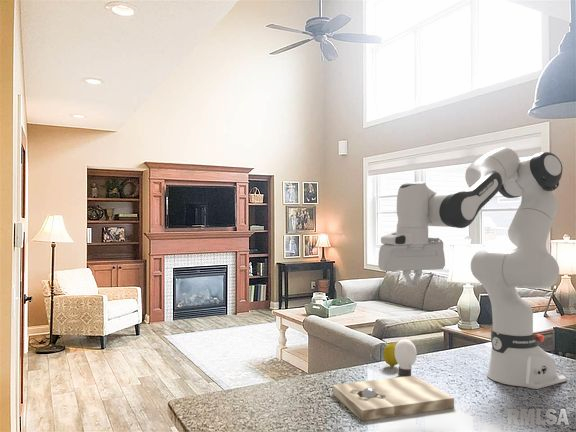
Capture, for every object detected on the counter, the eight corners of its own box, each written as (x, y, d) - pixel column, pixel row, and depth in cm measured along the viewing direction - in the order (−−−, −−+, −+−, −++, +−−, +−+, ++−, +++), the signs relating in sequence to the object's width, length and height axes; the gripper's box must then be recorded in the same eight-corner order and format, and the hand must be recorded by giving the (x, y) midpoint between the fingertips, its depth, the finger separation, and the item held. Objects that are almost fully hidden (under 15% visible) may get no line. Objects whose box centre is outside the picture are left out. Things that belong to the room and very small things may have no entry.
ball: (373, 398, 125) (371, 384, 124) (380, 404, 121) (378, 389, 121) (359, 402, 123) (358, 387, 123) (366, 408, 120) (364, 393, 119)
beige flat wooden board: (414, 384, 137) (414, 375, 137) (454, 407, 119) (454, 397, 119) (332, 394, 129) (332, 385, 129) (362, 420, 111) (362, 410, 111)
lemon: (401, 370, 149) (401, 345, 149) (383, 369, 150) (383, 344, 150) (400, 364, 155) (400, 340, 155) (383, 363, 156) (383, 339, 156)
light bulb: (389, 373, 146) (389, 338, 146) (406, 370, 149) (406, 335, 149) (404, 379, 140) (404, 343, 140) (421, 376, 143) (421, 340, 143)
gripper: (436, 237, 140) (436, 283, 140) (375, 237, 134) (375, 285, 134) (449, 237, 134) (449, 285, 134) (386, 238, 128) (386, 288, 128)
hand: (412, 285), depth 134 cm, fingers closed
